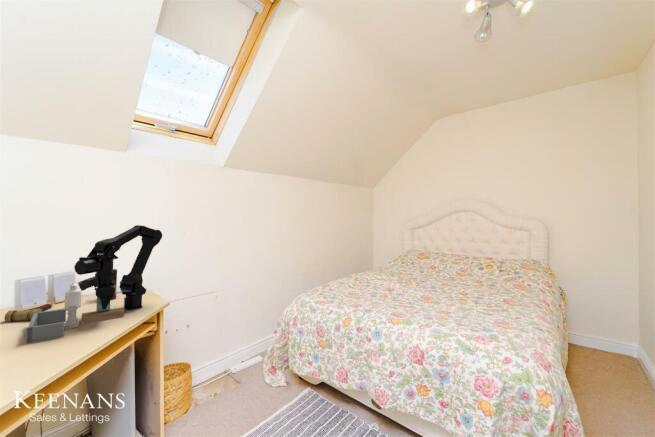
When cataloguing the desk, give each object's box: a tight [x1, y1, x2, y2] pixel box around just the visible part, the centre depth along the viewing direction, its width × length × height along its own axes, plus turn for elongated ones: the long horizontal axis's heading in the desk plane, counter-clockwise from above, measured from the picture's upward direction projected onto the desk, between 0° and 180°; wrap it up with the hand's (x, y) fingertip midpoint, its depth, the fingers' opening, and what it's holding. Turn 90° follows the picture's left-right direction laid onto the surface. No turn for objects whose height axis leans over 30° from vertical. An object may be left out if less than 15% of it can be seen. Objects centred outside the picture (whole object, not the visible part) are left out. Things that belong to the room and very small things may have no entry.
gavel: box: [4, 303, 54, 323], centre depth 126 cm, size 21×5×10 cm
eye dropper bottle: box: [64, 281, 82, 310], centre depth 135 cm, size 4×6×12 cm
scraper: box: [81, 296, 125, 324], centre depth 123 cm, size 5×14×9 cm, turn 131°
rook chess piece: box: [64, 306, 80, 330], centre depth 113 cm, size 4×4×8 cm
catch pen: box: [26, 308, 67, 344], centre depth 108 cm, size 9×19×5 cm, turn 41°
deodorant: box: [109, 268, 118, 301], centre depth 150 cm, size 6×6×15 cm
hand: (103, 306), depth 124 cm, fingers open, 8 cm apart
